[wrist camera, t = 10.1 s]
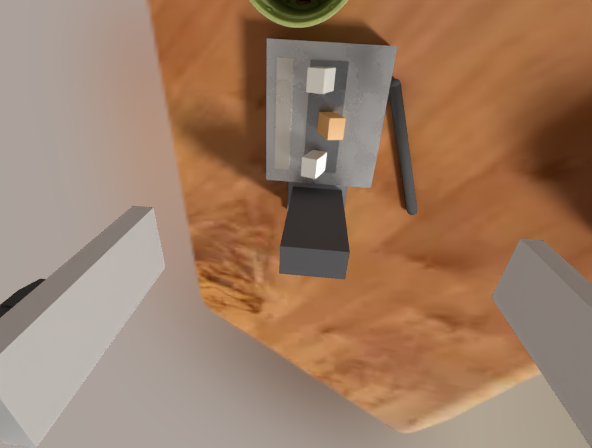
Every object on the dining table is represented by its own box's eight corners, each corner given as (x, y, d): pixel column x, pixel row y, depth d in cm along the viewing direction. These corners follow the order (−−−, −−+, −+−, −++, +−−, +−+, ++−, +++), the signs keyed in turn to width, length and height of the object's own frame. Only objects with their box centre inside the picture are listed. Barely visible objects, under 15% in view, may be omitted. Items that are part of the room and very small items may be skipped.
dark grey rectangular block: (289, 178, 39) (273, 238, 27) (346, 182, 38) (357, 246, 26) (287, 209, 41) (272, 278, 29) (342, 214, 41) (350, 285, 29)
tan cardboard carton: (318, 111, 31) (329, 118, 28) (333, 111, 31) (345, 118, 29) (317, 132, 32) (327, 140, 29) (331, 131, 32) (343, 139, 30)
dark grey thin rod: (386, 80, 32) (388, 81, 31) (398, 76, 32) (401, 77, 31) (406, 213, 40) (408, 217, 39) (416, 211, 40) (418, 215, 39)
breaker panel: (271, 39, 31) (266, 38, 29) (391, 46, 31) (397, 46, 28) (269, 170, 38) (265, 180, 36) (367, 178, 38) (371, 188, 35)
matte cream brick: (313, 149, 33) (302, 157, 31) (327, 152, 33) (316, 160, 30) (311, 167, 34) (300, 176, 32) (325, 170, 34) (315, 179, 31)
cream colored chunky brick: (319, 66, 29) (307, 67, 27) (335, 67, 29) (325, 68, 26) (317, 89, 30) (306, 92, 28) (333, 90, 30) (322, 94, 27)
